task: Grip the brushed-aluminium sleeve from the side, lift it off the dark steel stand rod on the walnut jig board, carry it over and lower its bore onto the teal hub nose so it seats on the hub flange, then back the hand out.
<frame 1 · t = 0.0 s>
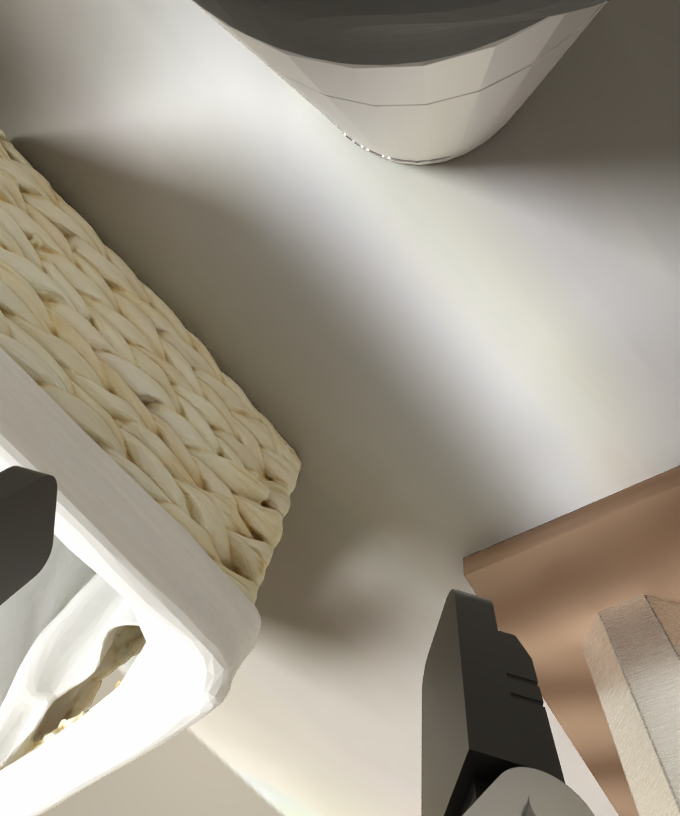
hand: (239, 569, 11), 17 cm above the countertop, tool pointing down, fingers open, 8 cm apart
sleeve: (645, 644, 28), point 1 cm above the countertop, touching jig board
storage basket: (87, 391, 30), on the countertop
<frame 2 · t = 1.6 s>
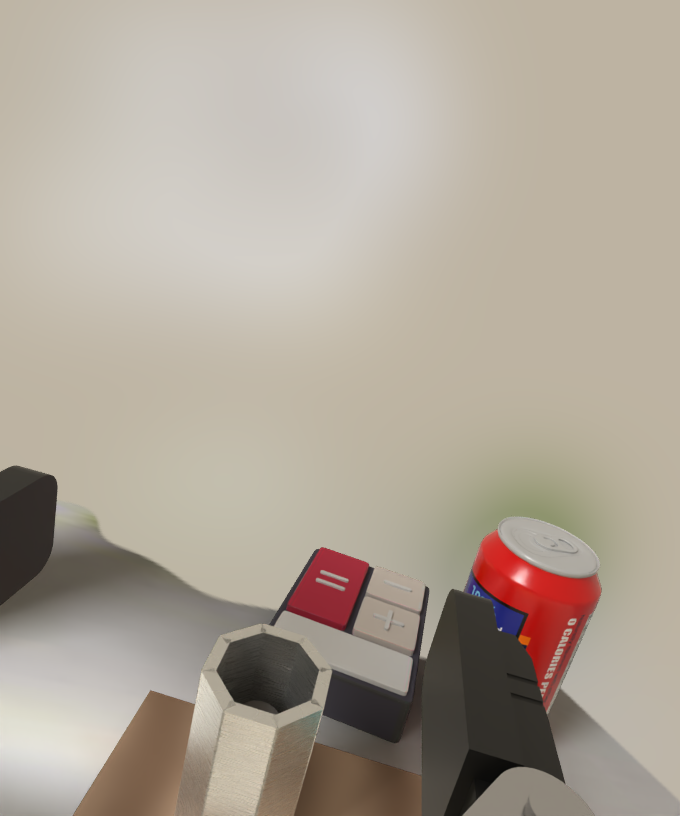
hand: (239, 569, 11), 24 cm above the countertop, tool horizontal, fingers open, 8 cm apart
calculator: (345, 647, 45), on the countertop
soda can: (478, 719, 41), on the countertop
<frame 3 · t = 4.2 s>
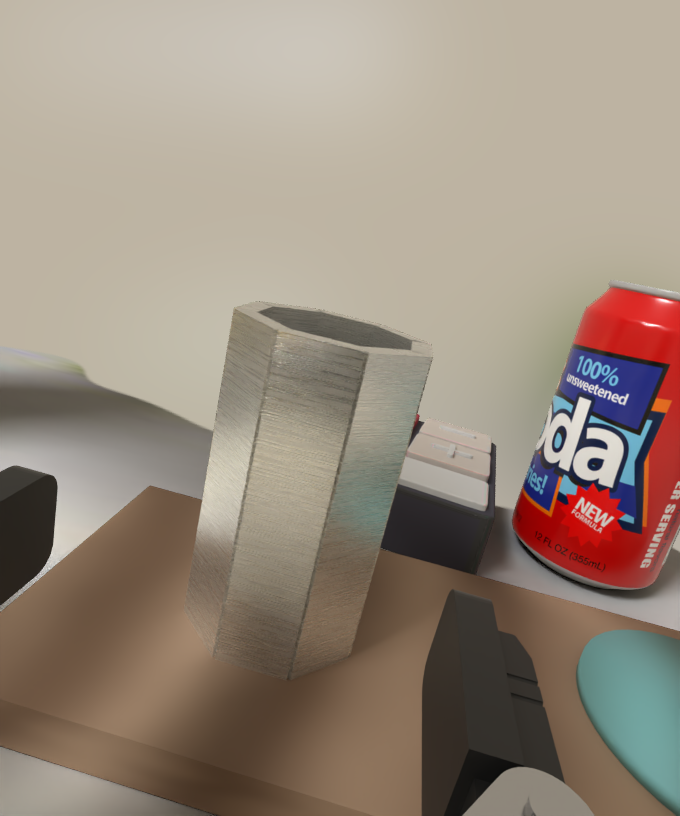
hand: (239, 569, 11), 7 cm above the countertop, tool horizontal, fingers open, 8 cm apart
calculator: (392, 497, 35), on the countertop
jig board: (477, 708, 19), on the countertop
soda can: (574, 561, 31), on the countertop
sleeve: (274, 611, 19), point 1 cm above the countertop, touching jig board
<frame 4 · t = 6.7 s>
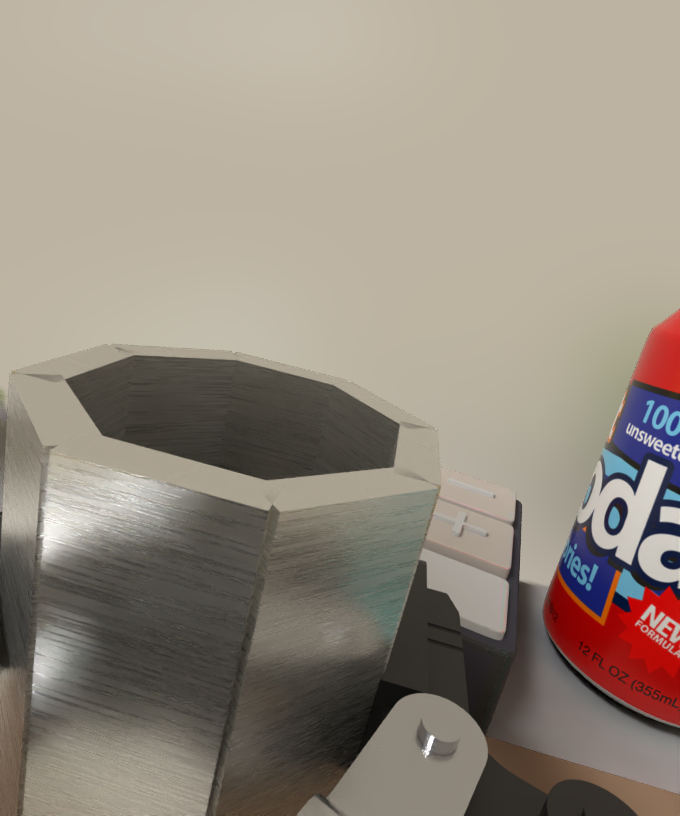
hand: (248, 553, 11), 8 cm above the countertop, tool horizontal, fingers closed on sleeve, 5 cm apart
calculator: (380, 578, 26), on the countertop
soda can: (628, 670, 23), on the countertop
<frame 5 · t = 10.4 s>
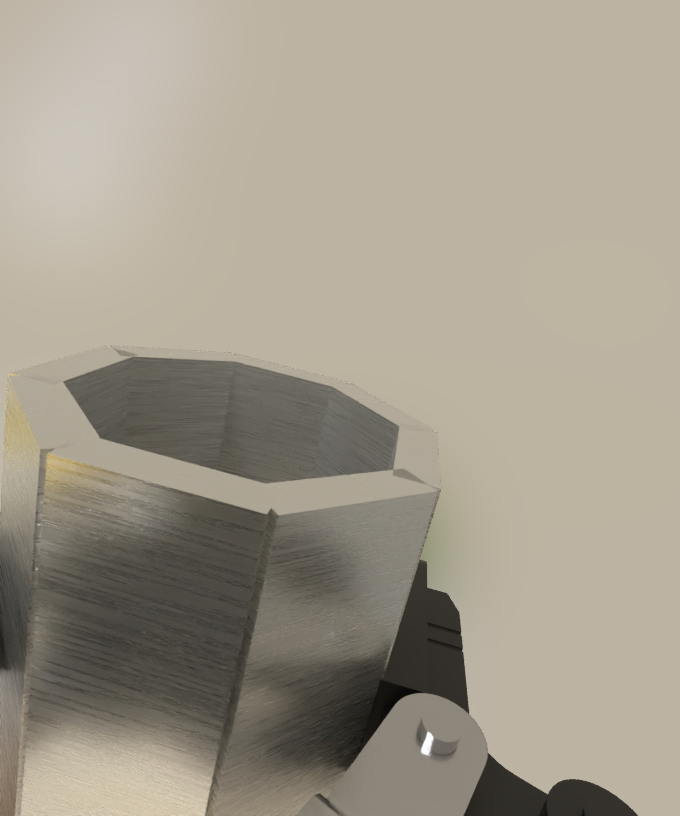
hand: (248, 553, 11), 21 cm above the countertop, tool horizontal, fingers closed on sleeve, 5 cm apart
when the fingers open (9 cm above the countertop, at t = 13.9 s): sleeve drops 1 cm, resting on jig board.
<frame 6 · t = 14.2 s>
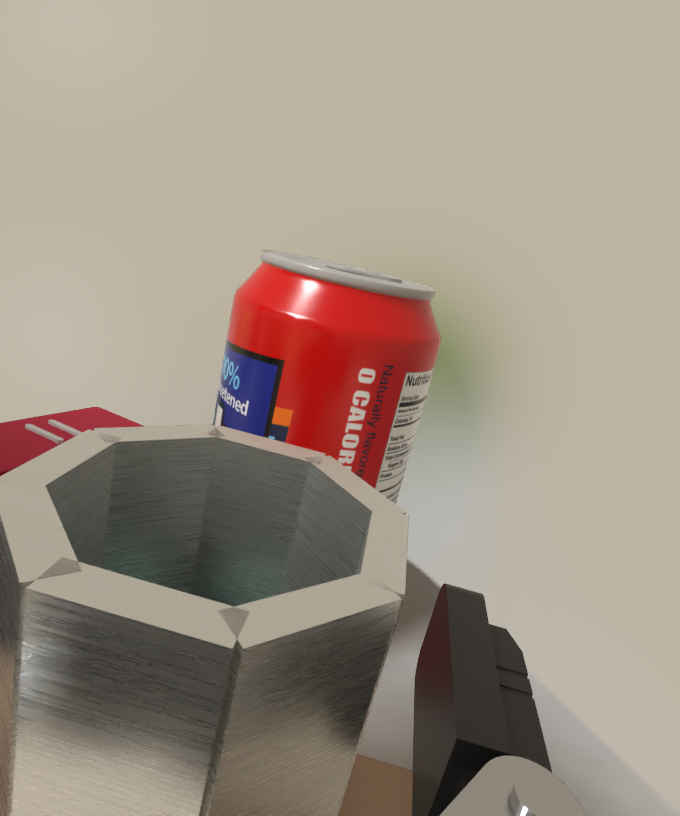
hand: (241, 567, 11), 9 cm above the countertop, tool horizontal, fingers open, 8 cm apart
calculator: (50, 536, 27), on the countertop, touching jig board
soda can: (273, 609, 25), on the countertop
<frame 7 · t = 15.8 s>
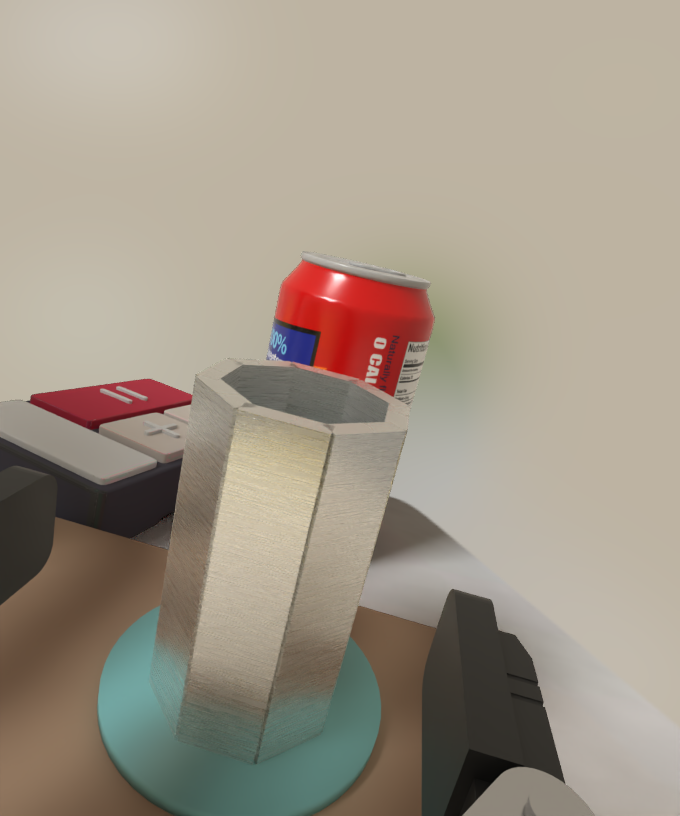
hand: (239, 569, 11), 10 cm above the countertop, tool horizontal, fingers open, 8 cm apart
calculator: (123, 476, 34), on the countertop
jig board: (33, 659, 19), on the countertop
soda can: (303, 532, 32), on the countertop
sleeve: (245, 679, 18), point 2 cm above the countertop, touching jig board
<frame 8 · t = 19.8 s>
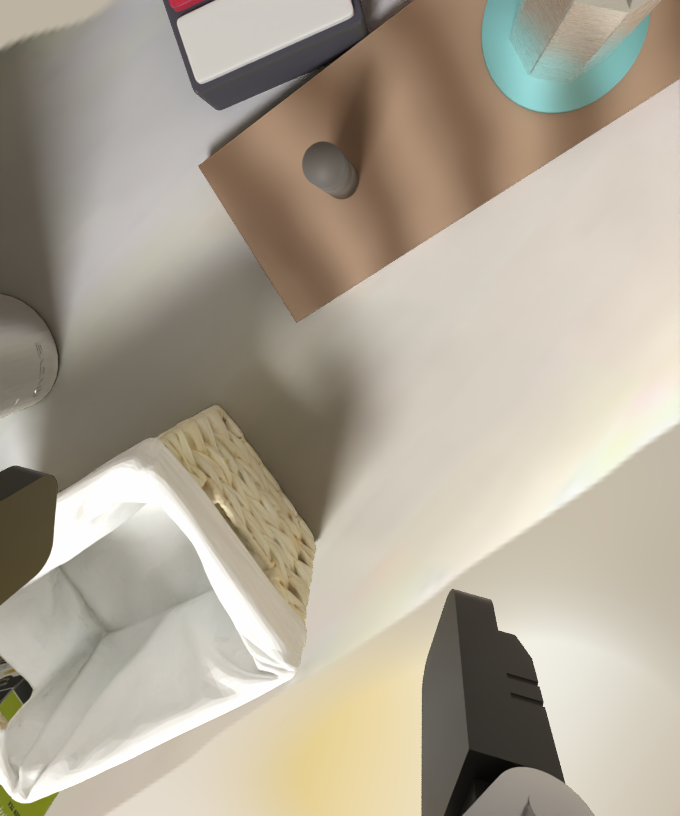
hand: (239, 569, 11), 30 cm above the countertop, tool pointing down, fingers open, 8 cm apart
jig board: (444, 114, 35), on the countertop
tea box: (20, 704, 54), on the countertop
sleeve: (564, 25, 31), point 2 cm above the countertop, touching jig board
storage basket: (175, 532, 47), on the countertop
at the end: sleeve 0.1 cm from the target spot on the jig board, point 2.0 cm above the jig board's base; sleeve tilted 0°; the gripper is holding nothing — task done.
